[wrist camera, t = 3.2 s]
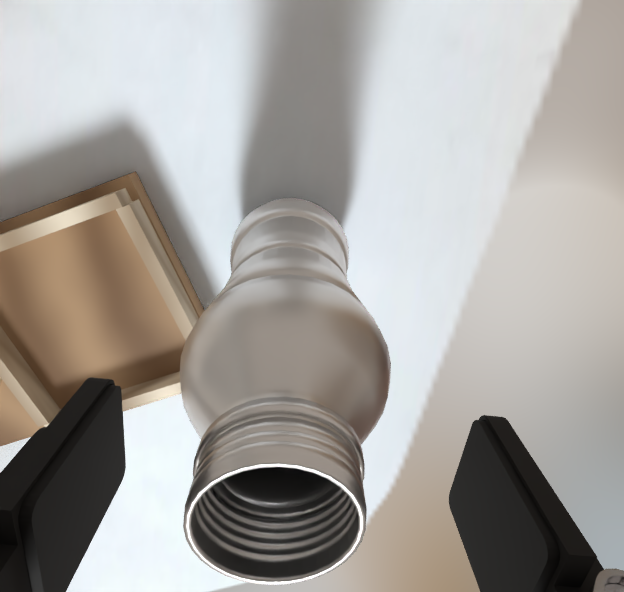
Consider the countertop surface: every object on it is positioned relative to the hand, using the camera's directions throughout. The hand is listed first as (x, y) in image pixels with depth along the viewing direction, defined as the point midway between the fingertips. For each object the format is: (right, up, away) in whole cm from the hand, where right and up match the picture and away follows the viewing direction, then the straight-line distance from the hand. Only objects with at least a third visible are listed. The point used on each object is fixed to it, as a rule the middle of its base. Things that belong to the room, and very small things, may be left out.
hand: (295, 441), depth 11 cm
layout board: (-17, +2, +17) cm, 24 cm away
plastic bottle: (-1, +7, +16) cm, 17 cm away
